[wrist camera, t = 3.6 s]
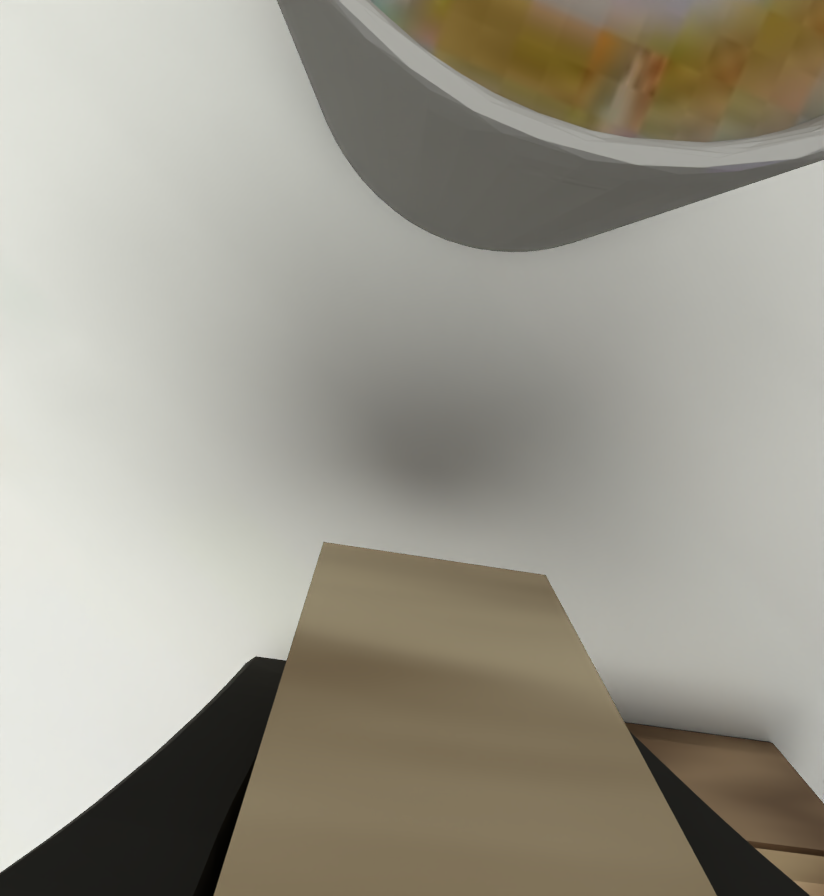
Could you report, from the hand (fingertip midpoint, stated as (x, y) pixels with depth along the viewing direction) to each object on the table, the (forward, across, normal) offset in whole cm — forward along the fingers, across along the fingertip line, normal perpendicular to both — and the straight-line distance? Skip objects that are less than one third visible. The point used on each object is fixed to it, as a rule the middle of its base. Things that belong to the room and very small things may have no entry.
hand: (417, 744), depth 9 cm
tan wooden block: (+2, 0, 0) cm, 2 cm away
